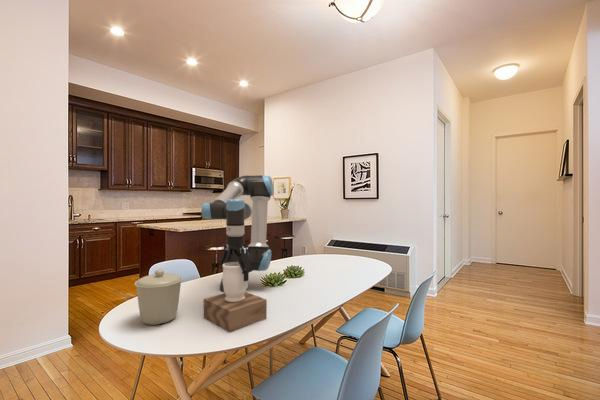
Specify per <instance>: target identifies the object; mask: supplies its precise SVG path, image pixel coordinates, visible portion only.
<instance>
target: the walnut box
mask: <svg viewBox="0 0 600 400" xmlns="http://www.w3.org/2000/svg"><path fill="white" fill-rule="evenodd" d="M244 296H245V299H244V300H242V301H239V302H228V301H226V300H225V297H226V295H225V293H224V292H223V293H221V294H217V295H213V296H208V297H205V298H203V319H205V320H207V321H209V322H211V323H212V324H214V325H216V326H218V327H220V328H221V329H223V330H225V331H227V332H228V333H232V332H235V331H236V330H237V331H238V330H240V329H243V328H245V327H247V326H251V325H253V324H255V323H258V322H260V321H264V320H265V319H267V313H268V312H267V308H268V306H267V305H268V304H267V303H268V301H267V299H265V298H263V297H261V296H258V295H255V294H252V293H249V292H247V291H245V293H244Z"/></svg>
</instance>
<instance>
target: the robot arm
mask: <svg viewBox="0 0 600 400" xmlns="http://www.w3.org/2000/svg"><path fill="white" fill-rule="evenodd" d="M274 190H275V189H274V184H273V179H272V177H271V176H270V175H242V176H238V177H237V178H234V179H232V180H231V181H230V182H229V183H227V186H226V188H225V189H224V190H223V191H222V192H221V193H220V194H219V195H218V196H217V197H216V198H215V199H214V200H213V201H212V202H205V203H203V204H202V206H201V212H200V213H201V216H202V218H203V219H205V220H226V221H225V222H226V224H225V225H226V229H225V230H226V232H225V234H226V237H225V244H224V245H223V251H222V255H221V258H220V260H219V265H220V266H221V267H222V271H223V270H224V268H223V264H224V263H228V262H239V265H240V267H241V269H242V271H243V272H242V280H241V289H242V290H243V289H246V290H247V289H249V273H252V272H254V271H255V272H256V271H257V272H262V271H263V272H264V271H268V269H269V267H270V264H271V261H272V250H271V249H270V247H269V245H268V244H267V233H268V232H267V230H268V229H267V227H268V203H269V201H270V200H271V197H272V196H274V193H275V191H274ZM242 196H250V200H251V201H252V206H251V205H250V204H249V203H246V202H245V200H244V199H243V198H242V199H241V198H240V197H242ZM250 217H251V231H250V243H249V244H248V245H247V247H245V246H243V245H245V234H246V233H245V220H247V219H249V218H250ZM219 290H220V291H221V292H223V293H224V288H223V282H222V279H221V281H220V283H219Z"/></svg>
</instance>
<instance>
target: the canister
mask: <svg viewBox="0 0 600 400" xmlns="http://www.w3.org/2000/svg"><path fill="white" fill-rule="evenodd" d="M183 279H184V278H183V277H182V276H180V275H179V274H176V273H168V272H166V273H165V271H164V270H163V269H162V268H158V269H156V270H155V271H154V274H149V275H145V276H142V277H140V278H139V279H137V280H135V282H134V286H135V287H136V293H137V294H136V296H137V304H138V311H139V316H140V320H141V321H142V322H143V324H146V325H153V326H155V325H161V324H165V323H168V322H171V321H172V320H174V319H175V317H176V316H177V314H178V308H179V302H180V294H181V293H180V292H181V285H182V283H181V282H182V281H183Z"/></svg>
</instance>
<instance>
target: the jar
mask: <svg viewBox="0 0 600 400" xmlns="http://www.w3.org/2000/svg"><path fill="white" fill-rule="evenodd" d="M223 268H224V270H223ZM242 272H243V271H242V269H241V267H240V265H239V262H228V263H224V264H223V267H222V277H221V280H222V282H223V288H224V292H223V293H225V295H226V297H225V300H226V301H228V302H239V301H242V300H244V299H245V296H244V293H245V292H247V289H243V290H242V289H241V280H242Z"/></svg>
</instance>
